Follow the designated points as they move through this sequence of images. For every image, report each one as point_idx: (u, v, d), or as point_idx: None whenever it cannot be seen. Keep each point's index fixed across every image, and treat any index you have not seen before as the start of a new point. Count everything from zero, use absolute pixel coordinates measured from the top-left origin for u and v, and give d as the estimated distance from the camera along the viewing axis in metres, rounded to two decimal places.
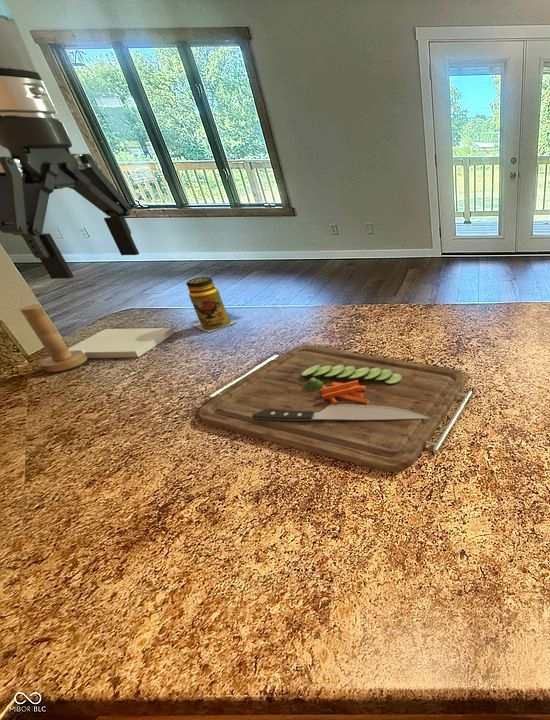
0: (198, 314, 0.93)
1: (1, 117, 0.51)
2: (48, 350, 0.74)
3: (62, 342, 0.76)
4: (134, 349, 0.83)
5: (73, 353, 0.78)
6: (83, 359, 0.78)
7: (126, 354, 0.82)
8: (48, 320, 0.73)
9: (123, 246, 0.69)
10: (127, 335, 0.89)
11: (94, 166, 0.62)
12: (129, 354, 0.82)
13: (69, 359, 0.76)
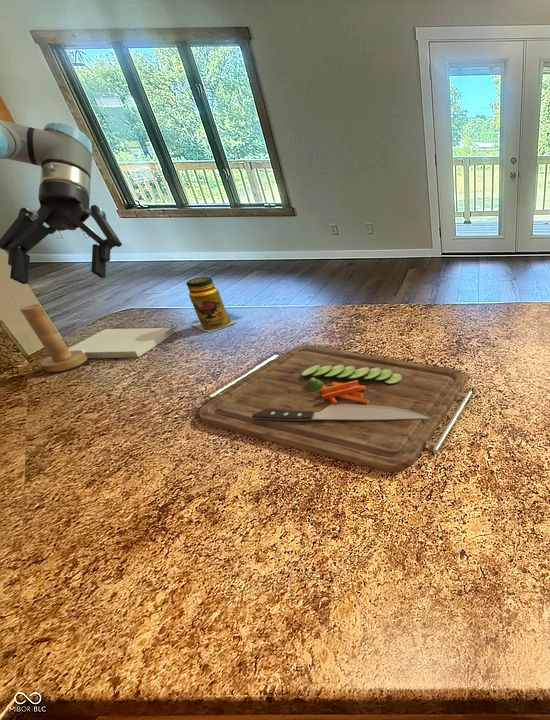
0: (198, 314, 0.93)
1: None
2: (48, 350, 0.74)
3: (62, 342, 0.76)
4: (134, 349, 0.83)
5: (73, 353, 0.78)
6: (83, 359, 0.78)
7: (126, 354, 0.82)
8: (48, 320, 0.73)
9: None
10: (127, 335, 0.89)
11: (94, 212, 0.82)
12: (129, 354, 0.82)
13: (69, 359, 0.76)
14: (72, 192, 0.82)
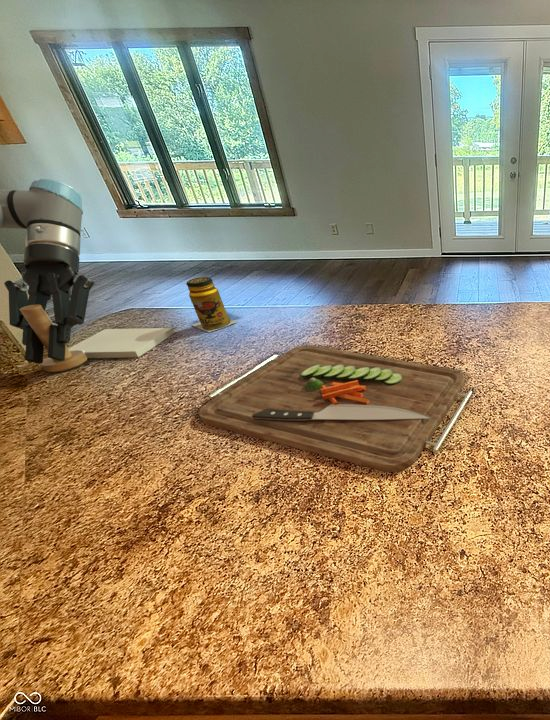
0: (198, 314, 0.93)
1: None
2: None
3: None
4: (134, 349, 0.83)
5: (73, 353, 0.78)
6: (83, 359, 0.78)
7: (126, 354, 0.82)
8: (48, 320, 0.73)
9: None
10: (127, 335, 0.89)
11: (77, 283, 0.76)
12: (129, 354, 0.82)
13: (69, 359, 0.76)
14: (60, 255, 0.76)
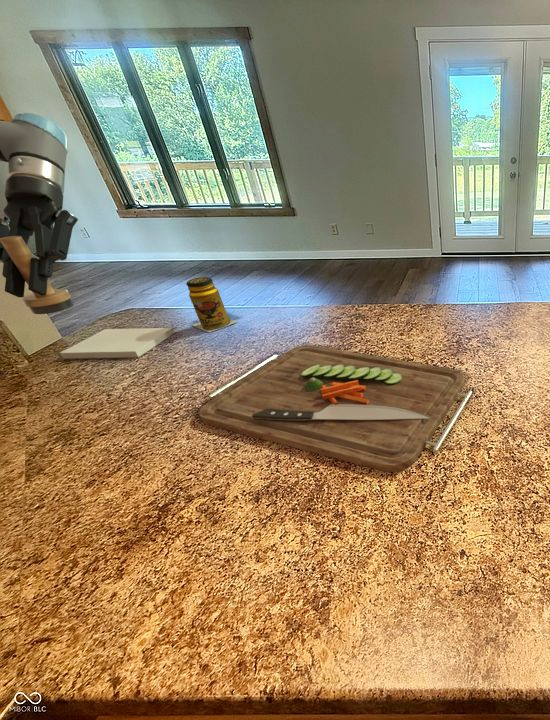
0: (198, 314, 0.93)
1: None
2: None
3: None
4: (134, 349, 0.83)
5: (56, 291, 0.77)
6: (66, 296, 0.76)
7: (126, 354, 0.82)
8: (28, 252, 0.71)
9: None
10: (127, 335, 0.89)
11: (60, 217, 0.75)
12: (129, 354, 0.82)
13: (52, 295, 0.74)
14: (42, 188, 0.74)
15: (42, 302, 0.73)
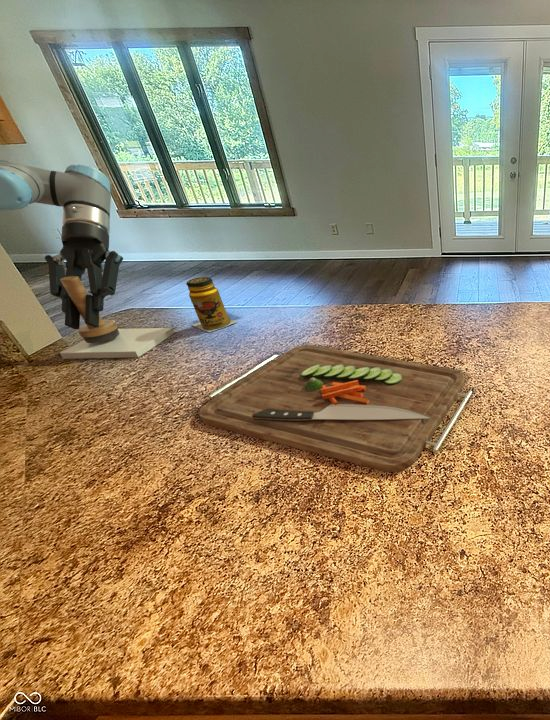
0: (198, 314, 0.93)
1: None
2: (84, 317, 0.83)
3: None
4: (134, 349, 0.83)
5: (105, 322, 0.87)
6: (114, 327, 0.86)
7: (126, 354, 0.82)
8: (84, 290, 0.82)
9: None
10: (127, 335, 0.89)
11: (109, 258, 0.85)
12: (129, 354, 0.82)
13: (102, 326, 0.85)
14: (93, 232, 0.85)
15: (95, 333, 0.83)
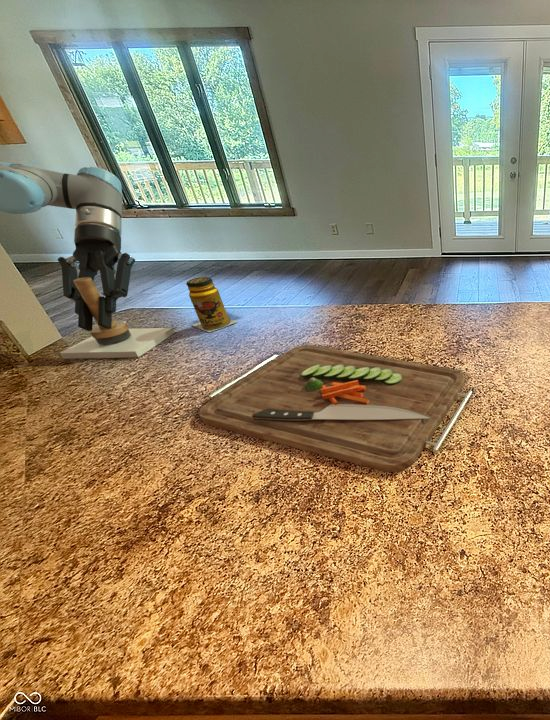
0: (198, 314, 0.93)
1: None
2: (96, 319, 0.83)
3: None
4: (134, 349, 0.83)
5: (117, 323, 0.87)
6: (125, 328, 0.86)
7: (126, 354, 0.82)
8: (96, 291, 0.82)
9: None
10: None
11: (122, 260, 0.85)
12: (129, 354, 0.82)
13: (114, 328, 0.85)
14: (106, 234, 0.85)
15: (106, 334, 0.83)
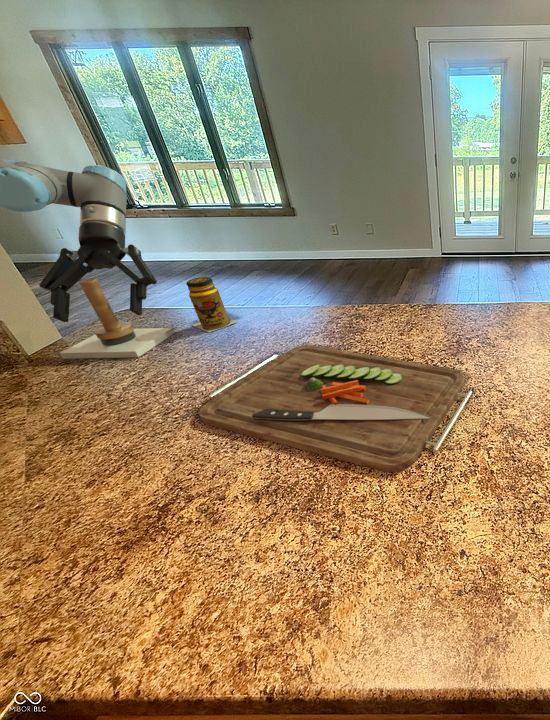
0: (198, 314, 0.93)
1: None
2: (101, 320, 0.83)
3: (113, 313, 0.84)
4: (134, 349, 0.83)
5: (122, 324, 0.87)
6: (130, 329, 0.87)
7: (126, 354, 0.82)
8: (102, 292, 0.82)
9: None
10: None
11: (131, 251, 0.86)
12: (129, 354, 0.82)
13: (119, 329, 0.85)
14: (110, 232, 0.85)
15: (111, 335, 0.84)
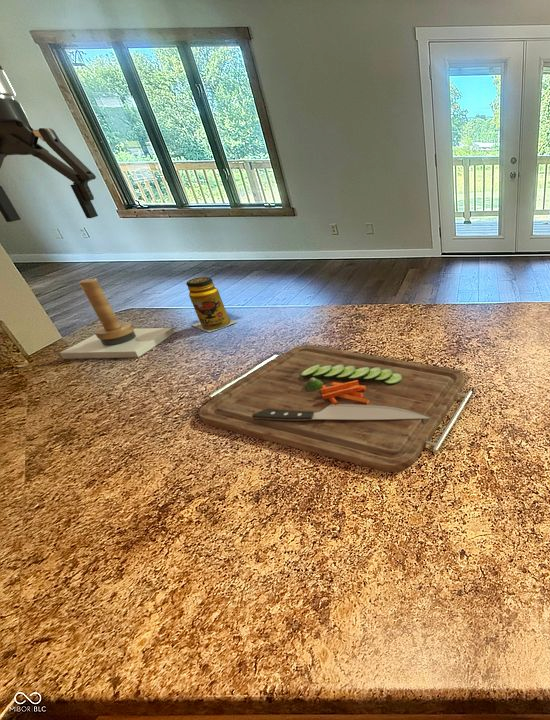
0: (198, 314, 0.93)
1: None
2: (101, 320, 0.83)
3: (113, 313, 0.84)
4: (134, 349, 0.83)
5: (122, 324, 0.87)
6: (130, 329, 0.87)
7: (126, 354, 0.82)
8: (102, 292, 0.82)
9: None
10: None
11: (47, 139, 0.74)
12: (129, 354, 0.82)
13: (119, 329, 0.85)
14: (7, 112, 0.70)
15: (111, 335, 0.84)
